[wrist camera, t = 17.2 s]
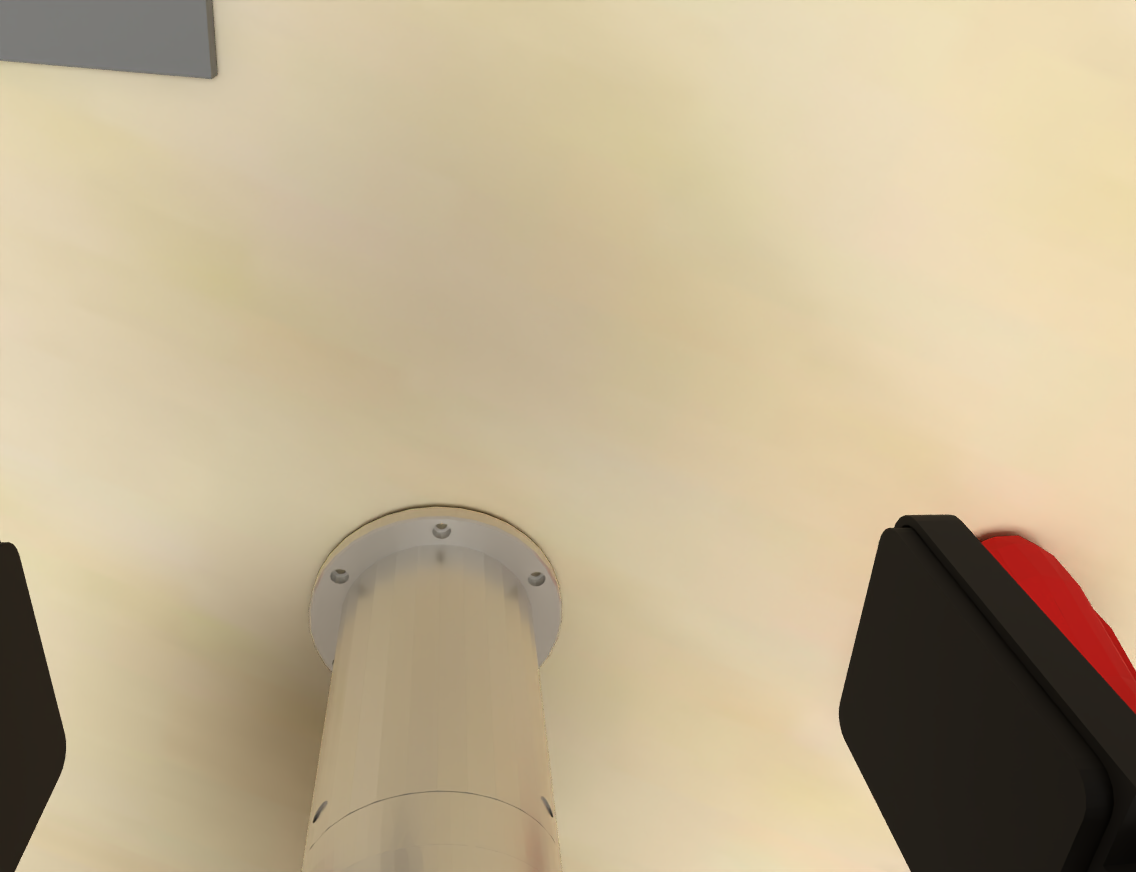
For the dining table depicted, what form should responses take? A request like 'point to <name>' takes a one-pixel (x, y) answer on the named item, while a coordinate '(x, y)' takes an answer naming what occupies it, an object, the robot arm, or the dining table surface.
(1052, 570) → the water bottle
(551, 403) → the dining table surface
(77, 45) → the mat
